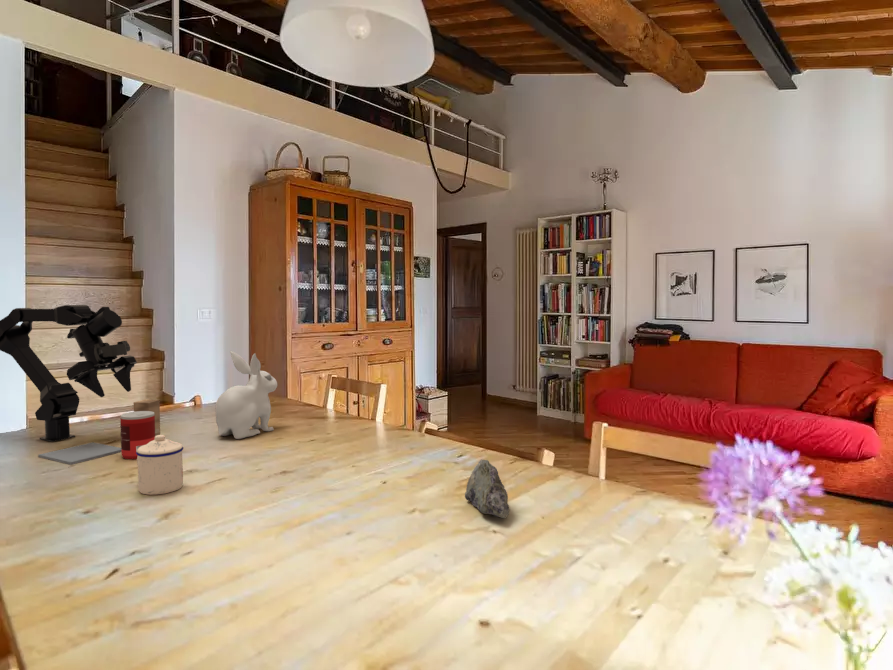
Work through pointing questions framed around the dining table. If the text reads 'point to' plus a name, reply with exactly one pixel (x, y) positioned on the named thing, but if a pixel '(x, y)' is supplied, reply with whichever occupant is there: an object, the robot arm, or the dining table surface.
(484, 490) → the mineral rock
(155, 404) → the wooden block
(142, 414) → the canned food
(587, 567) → the dining table surface
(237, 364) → the rabbit
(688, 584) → the dining table surface
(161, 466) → the lidded ceramic jar
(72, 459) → the flat gray square pad
